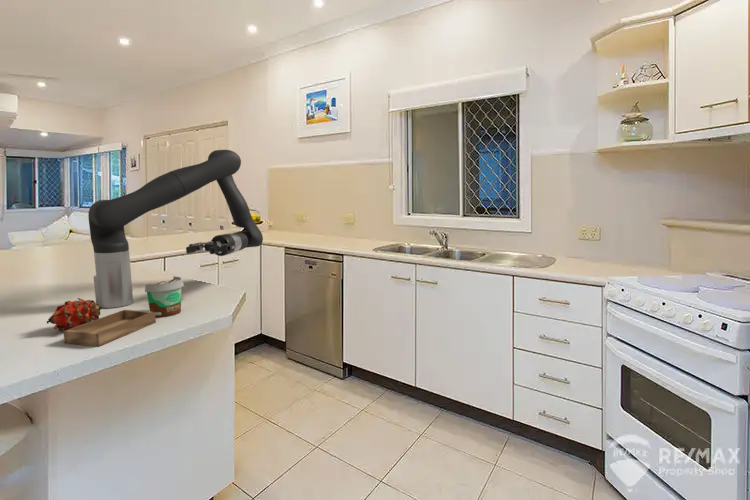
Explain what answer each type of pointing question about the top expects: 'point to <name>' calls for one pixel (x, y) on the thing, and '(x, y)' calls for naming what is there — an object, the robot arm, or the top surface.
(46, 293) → the top surface
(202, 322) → the top surface
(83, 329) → the wooden tray
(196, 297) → the top surface
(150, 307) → the food container
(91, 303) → the dragon fruit
